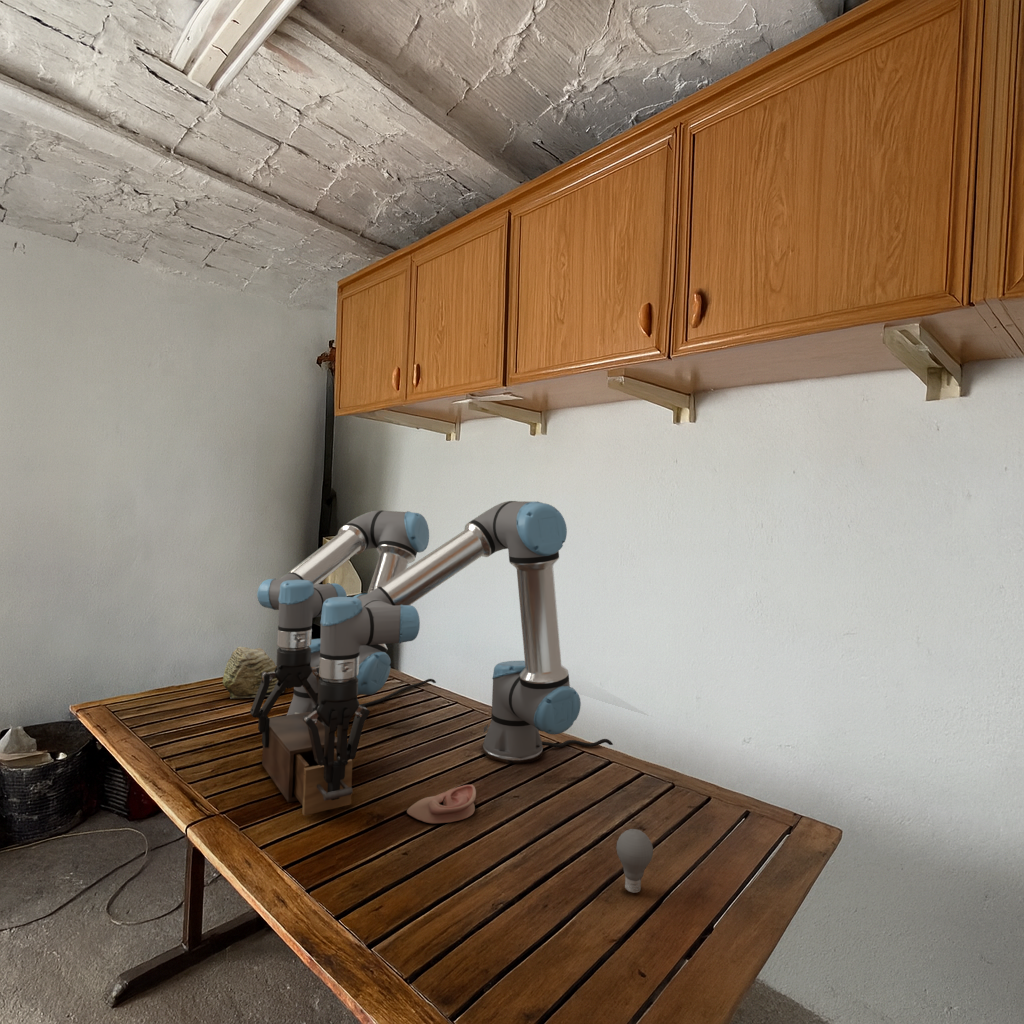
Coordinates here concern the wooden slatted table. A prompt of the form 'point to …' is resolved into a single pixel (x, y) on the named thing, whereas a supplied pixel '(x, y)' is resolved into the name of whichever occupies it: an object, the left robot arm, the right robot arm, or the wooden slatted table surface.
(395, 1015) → the wooden slatted table surface
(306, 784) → the drawer
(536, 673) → the right robot arm
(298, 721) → the cabinet
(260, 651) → the fossil
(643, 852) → the light bulb
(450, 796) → the anatomical model
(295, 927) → the wooden slatted table surface
